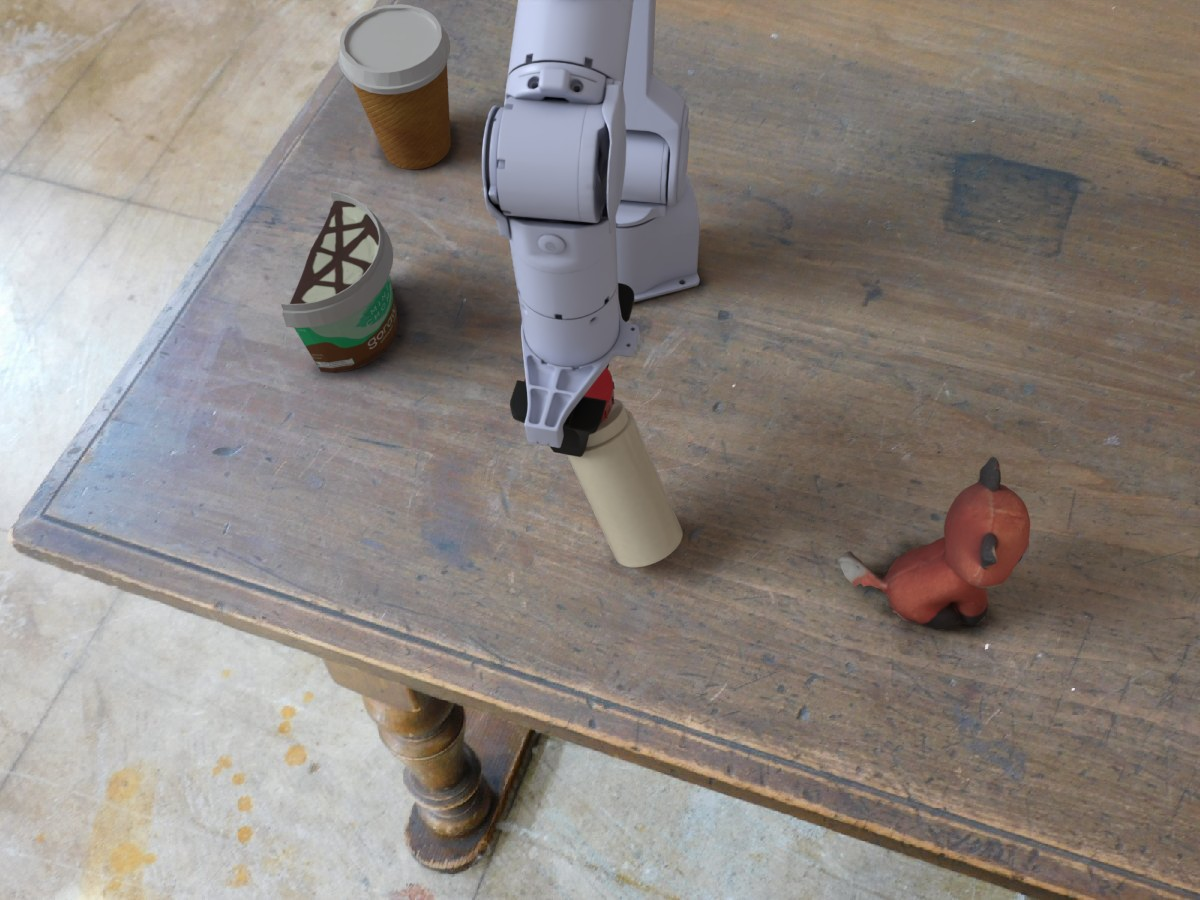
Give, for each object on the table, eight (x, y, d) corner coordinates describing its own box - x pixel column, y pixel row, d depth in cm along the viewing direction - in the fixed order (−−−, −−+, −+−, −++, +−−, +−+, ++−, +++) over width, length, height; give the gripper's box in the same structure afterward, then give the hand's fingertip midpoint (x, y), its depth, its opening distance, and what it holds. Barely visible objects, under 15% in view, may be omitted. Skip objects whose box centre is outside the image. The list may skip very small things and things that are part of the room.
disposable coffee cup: (488, 132, 101) (470, 23, 90) (427, 197, 97) (400, 91, 86) (408, 96, 103) (381, -13, 93) (345, 158, 100) (310, 51, 89)
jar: (675, 512, 79) (622, 386, 74) (689, 549, 74) (632, 418, 69) (610, 538, 79) (552, 415, 74) (619, 577, 75) (558, 449, 70)
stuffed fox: (831, 532, 78) (859, 449, 68) (988, 538, 78) (1041, 455, 67) (836, 630, 75) (867, 557, 64) (1002, 637, 74) (1059, 565, 64)
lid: (506, 399, 71) (503, 389, 70) (571, 345, 73) (569, 334, 72) (567, 453, 69) (565, 443, 68) (633, 396, 71) (632, 385, 70)
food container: (387, 398, 86) (358, 321, 77) (314, 386, 87) (278, 309, 78) (430, 278, 92) (407, 195, 83) (361, 269, 93) (332, 186, 84)
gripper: (607, 397, 56) (613, 515, 68) (662, 196, 63) (659, 334, 75) (478, 374, 57) (506, 495, 69) (547, 179, 64) (562, 318, 76)
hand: (579, 410), depth 72 cm, fingers closed on lid, 6 cm apart
